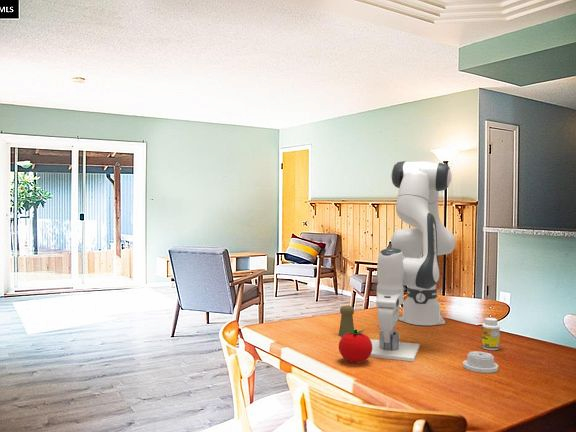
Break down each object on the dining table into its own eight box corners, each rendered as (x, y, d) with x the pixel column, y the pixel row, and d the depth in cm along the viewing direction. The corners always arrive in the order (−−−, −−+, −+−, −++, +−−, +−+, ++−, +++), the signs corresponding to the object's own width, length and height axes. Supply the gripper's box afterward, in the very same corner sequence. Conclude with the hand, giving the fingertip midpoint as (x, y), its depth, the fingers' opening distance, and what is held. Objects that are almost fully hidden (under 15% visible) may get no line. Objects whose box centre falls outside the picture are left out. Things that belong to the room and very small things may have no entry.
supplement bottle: (479, 346, 183) (479, 317, 183) (494, 346, 184) (495, 317, 183) (485, 350, 178) (486, 320, 177) (502, 350, 178) (502, 320, 178)
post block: (367, 341, 188) (368, 313, 188) (419, 346, 182) (419, 317, 181) (356, 355, 171) (357, 324, 171) (413, 361, 165) (414, 329, 165)
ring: (381, 344, 180) (381, 330, 180) (399, 346, 178) (400, 331, 178) (378, 349, 174) (378, 334, 174) (397, 351, 172) (397, 336, 172)
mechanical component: (480, 362, 166) (455, 365, 162) (480, 348, 166) (456, 351, 162) (505, 371, 157) (480, 375, 153) (505, 356, 157) (480, 360, 153)
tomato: (331, 359, 166) (332, 328, 165) (358, 355, 171) (358, 324, 171) (352, 369, 157) (352, 335, 156) (379, 363, 162) (379, 331, 162)
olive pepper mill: (354, 337, 193) (354, 307, 193) (337, 336, 194) (338, 307, 194) (355, 333, 199) (355, 304, 199) (339, 332, 200) (339, 304, 200)
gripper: (385, 292, 187) (384, 330, 187) (375, 302, 167) (374, 345, 168) (403, 293, 185) (403, 332, 185) (395, 303, 165) (394, 347, 166)
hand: (389, 338), depth 176 cm, fingers open, 8 cm apart
